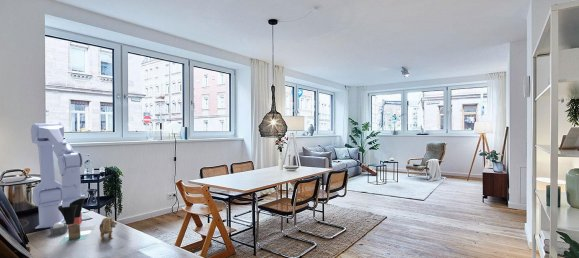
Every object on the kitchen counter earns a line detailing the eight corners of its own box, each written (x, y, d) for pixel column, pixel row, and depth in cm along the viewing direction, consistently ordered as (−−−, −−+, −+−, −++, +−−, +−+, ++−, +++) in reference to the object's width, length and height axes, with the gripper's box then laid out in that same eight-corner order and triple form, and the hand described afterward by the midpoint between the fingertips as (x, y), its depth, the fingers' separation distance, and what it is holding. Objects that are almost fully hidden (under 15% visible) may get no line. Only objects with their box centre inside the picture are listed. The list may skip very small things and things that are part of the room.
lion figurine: (118, 241, 111) (117, 217, 111) (101, 245, 108) (100, 220, 107) (111, 230, 123) (110, 208, 122) (96, 233, 119) (95, 211, 119)
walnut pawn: (70, 237, 116) (70, 224, 115) (81, 235, 117) (81, 223, 117) (67, 240, 112) (66, 227, 112) (78, 239, 113) (77, 226, 113)
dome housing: (53, 231, 122) (53, 224, 122) (68, 229, 124) (68, 223, 123) (48, 236, 117) (48, 229, 117) (64, 234, 119) (63, 227, 119)
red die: (71, 223, 132) (70, 213, 131) (82, 221, 133) (81, 212, 133) (68, 226, 128) (67, 216, 128) (79, 224, 129) (78, 214, 129)
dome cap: (55, 230, 121) (54, 221, 121) (65, 229, 123) (65, 220, 123) (51, 233, 118) (51, 224, 118) (62, 232, 119) (62, 223, 119)
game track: (73, 228, 125) (73, 228, 125) (95, 225, 128) (95, 225, 128) (59, 242, 111) (59, 242, 111) (85, 239, 114) (85, 239, 114)
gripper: (77, 188, 108) (79, 225, 109) (89, 180, 122) (91, 213, 122) (54, 190, 106) (56, 228, 106) (68, 181, 119) (70, 215, 120)
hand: (73, 220), depth 114 cm, fingers open, 7 cm apart
